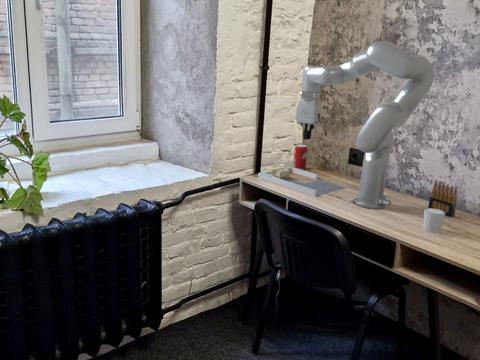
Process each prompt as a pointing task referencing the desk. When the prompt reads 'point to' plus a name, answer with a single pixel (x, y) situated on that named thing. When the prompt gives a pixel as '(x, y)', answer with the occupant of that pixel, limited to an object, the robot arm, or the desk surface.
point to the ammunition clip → (443, 199)
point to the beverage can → (300, 157)
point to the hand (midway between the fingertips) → (306, 139)
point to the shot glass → (433, 220)
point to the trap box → (309, 188)
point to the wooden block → (280, 173)
